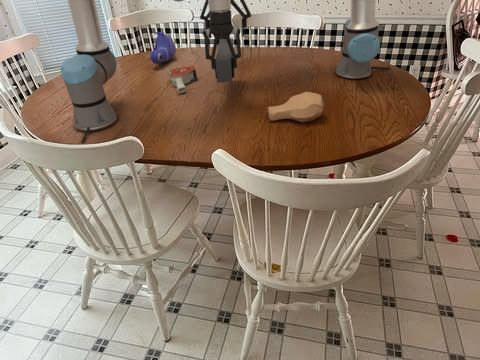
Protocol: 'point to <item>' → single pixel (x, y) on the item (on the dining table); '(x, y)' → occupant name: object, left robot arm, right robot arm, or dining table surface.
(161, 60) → the toy
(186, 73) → the tape dispenser
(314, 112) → the squash
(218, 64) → the bar
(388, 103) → the dining table surface
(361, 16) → the right robot arm
